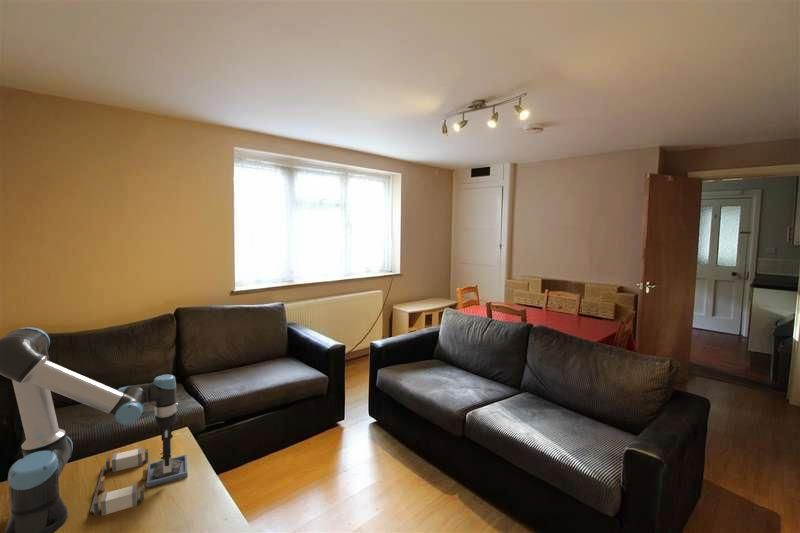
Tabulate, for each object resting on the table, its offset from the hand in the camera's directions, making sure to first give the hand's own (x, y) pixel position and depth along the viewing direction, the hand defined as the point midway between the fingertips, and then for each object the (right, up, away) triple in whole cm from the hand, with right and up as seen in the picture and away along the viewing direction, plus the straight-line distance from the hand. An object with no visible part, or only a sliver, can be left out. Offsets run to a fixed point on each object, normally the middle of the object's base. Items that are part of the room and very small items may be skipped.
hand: (167, 462), depth 154 cm
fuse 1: (-20, -3, +4) cm, 20 cm away
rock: (0, -4, 0) cm, 4 cm away
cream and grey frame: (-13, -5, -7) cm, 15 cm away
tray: (0, -4, 0) cm, 4 cm away
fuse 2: (-6, -6, -19) cm, 20 cm away
